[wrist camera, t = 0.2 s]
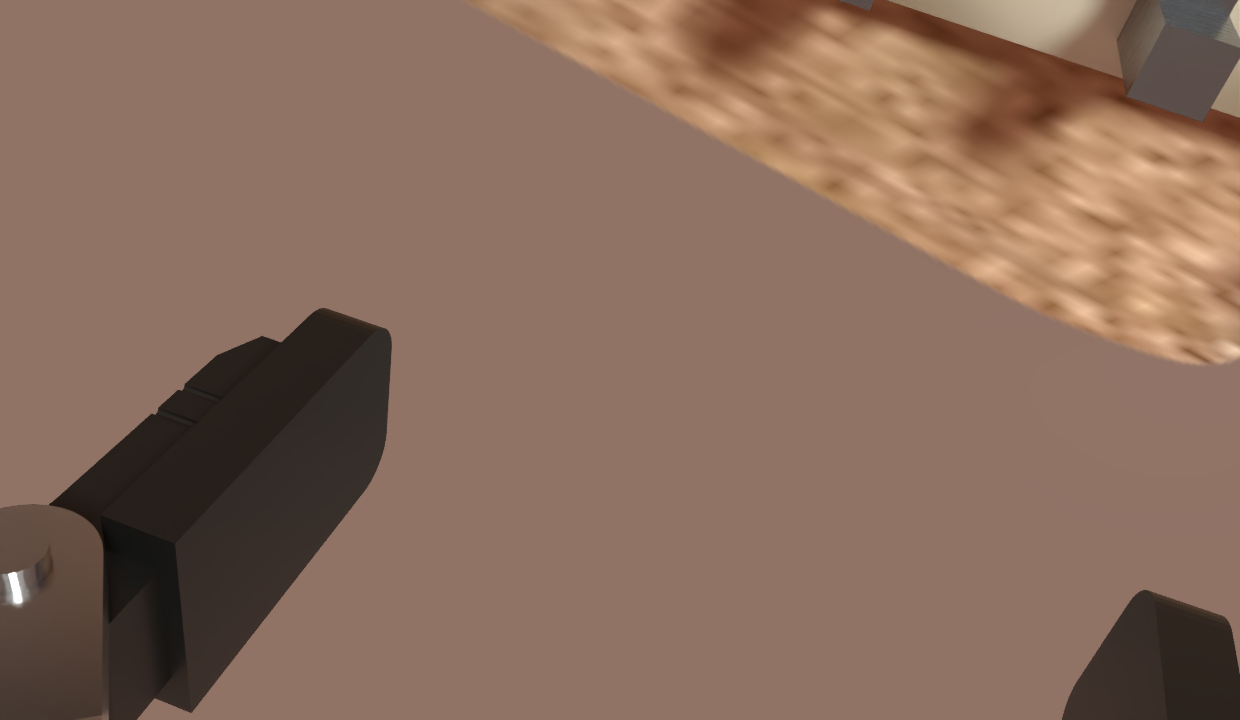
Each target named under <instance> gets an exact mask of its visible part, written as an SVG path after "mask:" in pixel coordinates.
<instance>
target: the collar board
mask: <svg viewBox="0 0 1240 720" xmlns="http://www.w3.org/2000/svg"><path fill="white" fill-rule="evenodd" d="M888 1H891V2H894V3H897V4H900V5H903V6H906V7H909V8H912V9H915V10H918V11H921V12H924V13H927V14H930V15H933V16H936V17H939V18H942V19H945V20H948V21H951V22H954V23H957V24H960V25H963V26H966V27H969V28H972V29H975V30H978V31H981V32H984V33H987V34H990V35H993V36H996V37H999V38H1002V39H1005V40H1008V41H1011V42H1014V43H1017V44H1020V45H1023V46H1026V47H1029V48H1032V49H1035V50H1038V51H1041V52H1044V53H1047V54H1050V55H1053V56H1056V57H1059V58H1062V59H1065V60H1068V61H1071V62H1074V63H1077V64H1080V65H1083V66H1086V67H1089V68H1092V69H1095V70H1098V71H1101V72H1104V73H1107V74H1110V75H1113V76H1116V77H1119V78H1122V79H1123V74H1122V69H1121V63H1120V57H1119V52H1118V46H1117V38H1118V36H1119V34H1120V32H1121V30H1122V28H1123V26H1124V24H1125V23H1126V21H1127V19H1128V17H1129V15H1130V13H1131V11H1132V9H1133V7H1134V5H1135V3H1136V1H1137V0H888ZM1229 16H1230V18H1231V21H1232V23H1233V25H1234V27H1235V29H1236V31H1237V33H1238V35H1239V37H1240V0H1238V1H1237V3H1236V5H1235V6H1234V8H1233V10H1232V12H1231V14H1230V15H1229ZM1211 108H1212V109H1215V110H1218V111H1221V112H1224V113H1227V114H1230V115H1233V116H1236V117H1239V118H1240V59H1239V61H1238V62H1237V64H1236V66H1235V68H1234V69H1233V71H1232V73H1231V74H1230V76H1229V78H1228V79H1227V81H1226V83H1225V85H1224V86H1223V88H1222V90H1221V91H1220V93H1219V95H1218V96H1217V98H1216V100H1215V102H1214V103H1213V105H1212V107H1211Z"/></svg>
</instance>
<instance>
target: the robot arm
mask: <svg viewBox="0 0 1240 720" xmlns="http://www.w3.org/2000/svg"><path fill="white" fill-rule="evenodd" d="M391 349H392V342H391V336H390V333H389V331H388V330H387V329H385V328H382V327H379V326H376V325H373V324H370V323H367V322H364V321H361V320H358V319H356V318H353V317H350V316H347V315H344V314H341V313H338V312H335V311H332V310H329V309H326V308H321V309H318V310H316V311H315V312H313V313H312V314H311V315H310V316H309V317H308V318H307V319H306V320H305V321H303V322H302V323H301V324H300V325H299V326H298V327H297V328H296V329H295V330H294V331H293V332H292V333H291V334H290V335H289V336H288V337H287V338H286V339H285V340H283V342H278V341H275V340H272V339H269V338H266V337H263V336H261V337H259V338H257V339H254V340H252V341H250V342H247V343H245V344H243V345H240V346H238V347H235V348H233V349H231V350H228V351H226V352H224V353H221V354H219V355H217V356H216V357H215V358H214V359H213V360H211V361H210V362H209V363H208V364H207V365H206V366H205V367H203V368H202V369H201V370H200V371H199V372H198V373H197V374H196V375H194V376H193V377H192V378H191V379H190V380H189V381H188V382H187V383H185V386H184V389H183V390H182V391H181V390H178V391H176V392H175V393H174V394H173V395H172V396H171V397H170V398H169V399H167V400H166V401H165V402H164V403H163V404H162V405H161V406H160V407H159V408H158V412H157V413H156V415H154V414H151V415H150V416H148V417H147V418H146V419H145V420H144V421H143V422H142V423H141V424H139V425H138V426H137V427H136V428H135V429H134V430H133V431H132V432H130V434H128V435H127V436H126V437H125V438H124V439H123V440H122V441H120V442H119V443H118V444H117V445H116V446H115V447H114V448H113V449H111V450H110V451H109V452H108V453H107V454H106V455H105V456H104V457H103V458H101V459H100V460H99V461H98V462H97V463H96V464H95V465H94V466H93V467H91V468H90V469H89V470H88V471H87V472H86V473H85V474H84V475H82V476H81V477H80V478H79V479H78V480H77V481H76V482H74V483H73V484H72V485H71V486H70V487H69V488H68V489H67V490H65V492H63V493H62V494H61V495H60V496H59V497H58V498H57V499H55V500H54V501H53V502H52V503H50V504H49V505H36V504H30V505H17V506H10V507H4V508H0V720H137V719H138V717H139V716H140V715H141V714H142V713H143V711H144V710H145V709H146V708H147V706H148V705H149V704H150V703H151V702H152V700H153V699H154V698H156V699H159V700H161V701H163V702H166V703H168V704H171V705H173V706H176V707H178V708H181V709H183V710H186V711H188V712H190V713H191V712H193V710H194V709H195V708H196V706H197V705H198V704H199V702H200V701H201V700H202V699H203V697H204V696H205V695H206V694H207V692H208V691H209V690H210V688H211V687H212V686H213V685H214V683H215V682H216V681H217V679H218V678H219V677H220V676H221V674H222V673H223V672H224V670H225V669H226V668H227V666H228V665H229V664H230V662H232V660H233V659H234V658H235V656H236V655H237V654H238V652H239V651H240V650H241V649H242V647H243V646H244V645H245V644H246V642H247V641H248V640H249V638H250V637H251V636H252V634H253V633H254V632H255V631H256V630H257V628H258V627H259V626H260V624H261V623H262V622H263V621H264V619H265V618H266V617H267V615H268V614H269V613H270V612H271V610H272V609H273V608H274V606H275V605H276V604H277V602H278V601H279V600H280V599H281V597H282V596H283V595H284V594H285V592H286V591H287V590H288V588H289V587H290V586H291V585H292V583H293V582H294V581H295V579H296V578H297V577H298V575H299V574H300V573H301V572H302V571H303V569H304V568H305V567H306V565H307V564H308V563H309V561H310V560H311V559H312V558H313V556H314V555H315V554H316V552H317V551H318V550H319V549H320V547H321V546H322V545H323V543H324V542H325V541H326V540H327V538H328V537H329V536H330V535H331V533H332V532H333V531H334V529H335V528H336V527H337V526H338V524H339V523H340V522H341V521H342V519H343V518H344V517H345V515H346V514H347V513H348V511H349V510H350V509H351V508H352V506H353V505H354V504H355V503H356V501H357V500H358V499H359V497H360V496H361V495H362V494H363V492H364V491H365V490H366V488H367V487H368V485H369V483H370V482H371V480H372V478H373V476H374V474H375V472H376V470H377V467H378V465H379V462H380V460H381V456H382V454H383V450H384V446H385V441H386V433H387V415H388V399H389V383H390V382H389V381H390V365H391ZM1062 720H1240V673H1239V667H1238V662H1237V656H1236V650H1235V645H1234V639H1233V634H1232V629H1231V626H1230V624H1229V622H1228V620H1227V619H1226V618H1225V617H1223V616H1221V615H1219V614H1216V613H1213V612H1210V611H1207V610H1204V609H1201V608H1198V607H1195V606H1192V605H1189V604H1186V603H1183V602H1180V601H1177V600H1174V599H1172V598H1169V597H1166V596H1163V595H1160V594H1157V593H1154V592H1151V591H1148V590H1143V591H1140V592H1139V593H1137V594H1136V595H1135V596H1134V597H1133V598H1132V600H1131V601H1130V602H1129V604H1128V605H1127V607H1126V608H1125V610H1124V611H1123V613H1122V614H1121V616H1120V617H1119V619H1118V620H1117V622H1116V623H1115V625H1114V626H1113V628H1112V629H1111V631H1110V632H1109V634H1108V635H1107V637H1106V638H1105V640H1104V641H1103V643H1102V644H1101V646H1100V648H1099V649H1098V651H1097V652H1096V654H1095V655H1094V657H1093V658H1092V660H1091V661H1090V663H1089V664H1088V666H1087V668H1086V669H1085V670H1084V672H1083V674H1082V675H1081V677H1080V678H1079V679H1078V681H1077V683H1076V684H1075V686H1074V688H1073V690H1072V692H1071V694H1070V696H1069V699H1068V701H1067V704H1066V707H1065V710H1064V714H1063V717H1062Z"/></svg>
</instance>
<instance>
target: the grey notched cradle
mask: <svg viewBox="0 0 1240 720" xmlns="http://www.w3.org/2000/svg"><path fill="white" fill-rule="evenodd" d="M839 1H842V2H845V3H848V4H851V5H854V6H857V7H860V8H863V9H866V10H869V11H870V9H871V7H872V5H873V3H874V0H839ZM1237 1H1238V0H1137V1H1136V3H1135V5H1134V7H1133V9H1132V11H1131V13H1130V15H1129V17H1128V19H1127V21H1126V23H1125V24H1124V26H1123V28H1122V30H1121V32H1120V34H1119V36H1118V38H1117V46H1118V52H1119V57H1120V63H1121V69H1122V74H1123V80H1124V86H1125V92H1126V97H1129V98H1132V99H1135V100H1138V101H1141V102H1144V103H1147V104H1150V105H1153V106H1156V107H1159V108H1162V109H1165V110H1168V111H1171V112H1174V113H1177V114H1180V115H1182V116H1185V117H1188V118H1191V119H1194V120H1197V121H1200V122H1203V120H1204V119H1205V117H1206V115H1207V113H1208V112H1209V110H1210V108H1211V107H1212V105H1213V103H1214V102H1215V100H1216V98H1217V96H1218V95H1219V93H1220V91H1221V90H1222V88H1223V86H1224V85H1225V83H1226V81H1227V79H1228V78H1229V76H1230V74H1231V73H1232V71H1233V69H1234V68H1235V66H1236V64H1237V62H1238V61H1239V59H1240V37H1239V35H1238V33H1237V31H1236V29H1235V27H1234V25H1233V23H1232V21H1231V18H1230V16H1229V15H1230V14H1231V12H1232V10H1233V8H1234V6H1235V5H1236V3H1237Z"/></svg>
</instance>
